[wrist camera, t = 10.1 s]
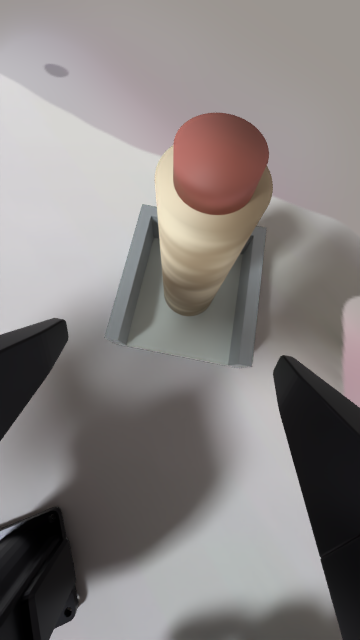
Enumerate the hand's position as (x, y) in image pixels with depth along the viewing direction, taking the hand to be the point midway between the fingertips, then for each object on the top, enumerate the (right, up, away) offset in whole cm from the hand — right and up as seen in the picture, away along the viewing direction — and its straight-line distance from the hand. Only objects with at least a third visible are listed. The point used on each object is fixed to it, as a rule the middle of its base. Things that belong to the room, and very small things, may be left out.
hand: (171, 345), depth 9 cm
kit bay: (+1, +4, +12) cm, 12 cm away
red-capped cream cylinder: (+1, +4, +11) cm, 12 cm away
